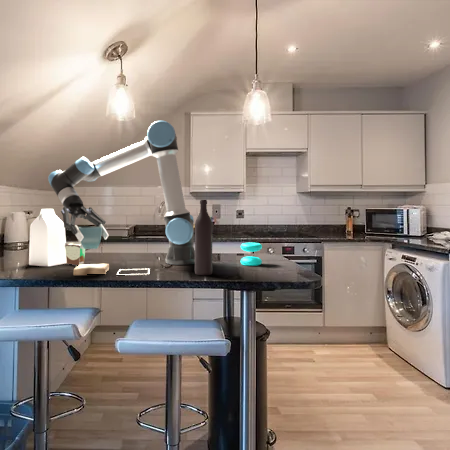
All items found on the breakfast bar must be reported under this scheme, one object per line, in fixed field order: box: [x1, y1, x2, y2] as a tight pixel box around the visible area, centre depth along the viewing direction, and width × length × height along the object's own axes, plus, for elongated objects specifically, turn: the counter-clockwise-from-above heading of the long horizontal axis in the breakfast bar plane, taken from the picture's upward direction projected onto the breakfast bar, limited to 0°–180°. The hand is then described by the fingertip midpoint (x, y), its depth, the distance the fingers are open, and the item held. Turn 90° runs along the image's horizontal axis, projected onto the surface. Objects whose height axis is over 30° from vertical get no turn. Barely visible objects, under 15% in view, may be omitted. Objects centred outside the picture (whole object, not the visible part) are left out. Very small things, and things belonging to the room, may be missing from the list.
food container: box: [64, 241, 86, 266], centre depth 179 cm, size 12×6×10 cm, turn 58°
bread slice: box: [73, 263, 110, 276], centre depth 158 cm, size 12×12×3 cm
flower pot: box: [78, 225, 102, 250], centre depth 157 cm, size 9×9×9 cm
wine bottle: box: [194, 199, 213, 276], centre depth 154 cm, size 7×7×30 cm
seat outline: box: [115, 268, 151, 276], centre depth 158 cm, size 13×13×1 cm
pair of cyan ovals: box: [240, 242, 263, 267], centre depth 179 cm, size 10×10×10 cm
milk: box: [28, 208, 67, 267], centre depth 179 cm, size 12×12×26 cm
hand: (94, 238), depth 155 cm, fingers closed on flower pot, 12 cm apart
